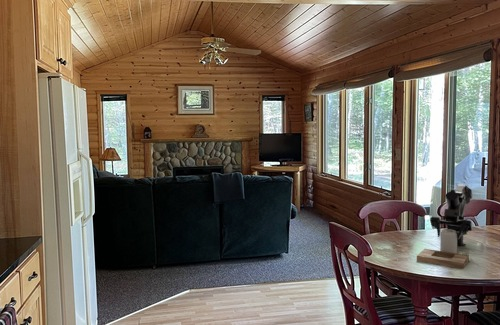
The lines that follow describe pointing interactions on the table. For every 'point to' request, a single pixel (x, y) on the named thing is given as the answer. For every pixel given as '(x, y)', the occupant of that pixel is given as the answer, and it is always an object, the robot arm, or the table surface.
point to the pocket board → (447, 259)
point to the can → (448, 241)
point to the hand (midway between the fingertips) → (448, 237)
